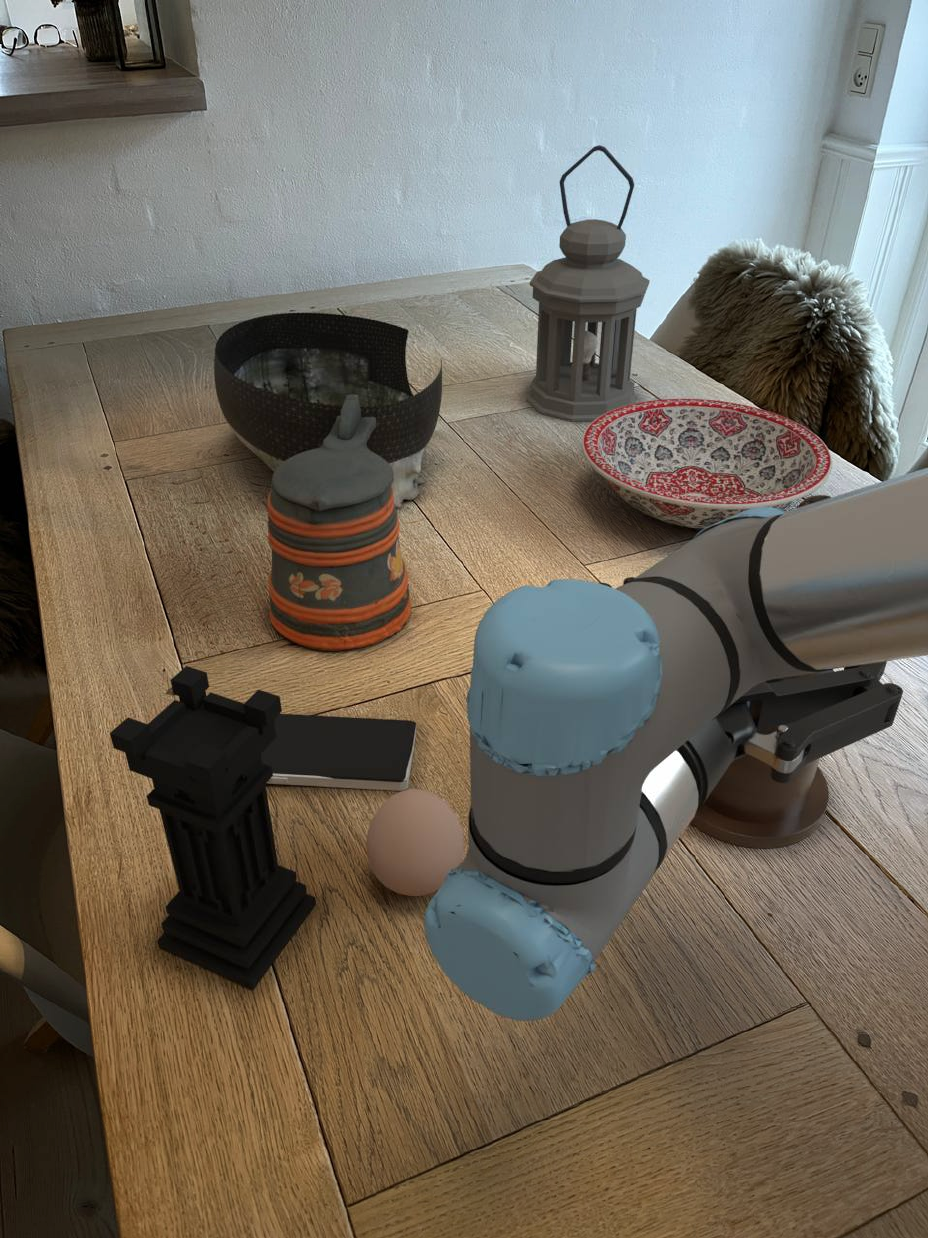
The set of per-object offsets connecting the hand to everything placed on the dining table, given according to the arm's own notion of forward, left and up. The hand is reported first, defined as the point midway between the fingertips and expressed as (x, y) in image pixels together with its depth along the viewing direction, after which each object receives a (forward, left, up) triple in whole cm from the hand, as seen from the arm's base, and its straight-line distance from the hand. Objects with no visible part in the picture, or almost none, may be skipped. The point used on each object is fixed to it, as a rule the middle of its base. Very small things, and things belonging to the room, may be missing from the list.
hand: (779, 593), depth 69 cm
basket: (+74, 0, -22) cm, 78 cm away
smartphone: (+23, +25, -22) cm, 41 cm away
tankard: (+44, +13, -22) cm, 51 cm away
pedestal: (+1, -3, -22) cm, 22 cm away
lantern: (+74, -41, -22) cm, 88 cm away
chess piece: (+10, +38, -22) cm, 45 cm away
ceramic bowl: (+40, -33, -22) cm, 57 cm away
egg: (+7, +25, -22) cm, 34 cm away
